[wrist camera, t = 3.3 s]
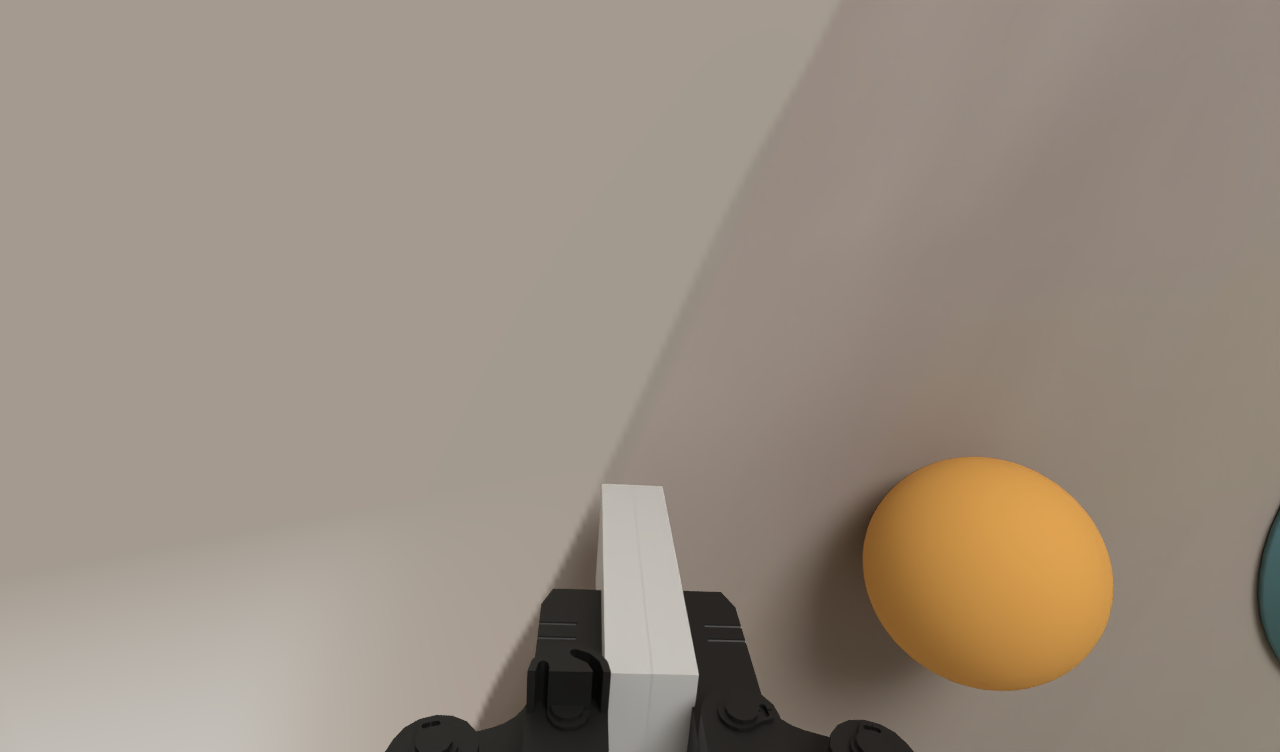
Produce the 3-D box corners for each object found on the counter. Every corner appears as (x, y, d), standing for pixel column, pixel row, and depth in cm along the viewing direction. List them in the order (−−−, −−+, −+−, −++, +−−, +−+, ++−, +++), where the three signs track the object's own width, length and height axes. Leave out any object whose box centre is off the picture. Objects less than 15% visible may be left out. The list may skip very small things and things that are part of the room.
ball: (1045, 428, 19) (1210, 532, 14) (999, 599, 21) (1132, 748, 16) (851, 418, 19) (948, 522, 14) (819, 593, 21) (895, 745, 15)
